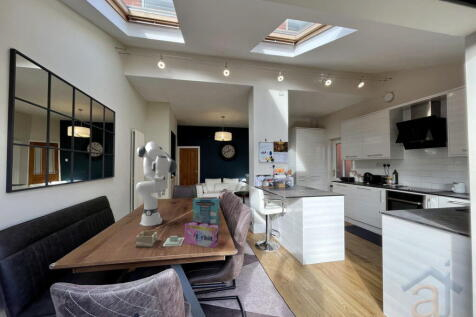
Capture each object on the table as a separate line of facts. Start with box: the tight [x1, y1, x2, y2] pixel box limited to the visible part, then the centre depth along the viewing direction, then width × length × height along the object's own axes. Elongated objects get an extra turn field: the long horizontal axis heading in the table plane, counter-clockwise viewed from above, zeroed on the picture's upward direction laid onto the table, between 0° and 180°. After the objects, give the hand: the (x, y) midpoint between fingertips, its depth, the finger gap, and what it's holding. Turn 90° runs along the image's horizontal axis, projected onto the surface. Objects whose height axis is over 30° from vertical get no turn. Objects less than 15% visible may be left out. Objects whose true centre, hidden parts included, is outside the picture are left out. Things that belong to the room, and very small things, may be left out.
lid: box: [164, 235, 183, 245], centre depth 136 cm, size 10×9×4 cm
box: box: [135, 229, 159, 248], centre depth 134 cm, size 12×10×7 cm
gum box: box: [184, 220, 220, 249], centre depth 134 cm, size 24×8×14 cm, turn 71°
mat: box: [162, 236, 185, 247], centre depth 136 cm, size 14×12×1 cm
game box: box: [192, 197, 220, 234], centre depth 157 cm, size 20×6×27 cm, turn 84°
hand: (161, 196), depth 142 cm, fingers open, 8 cm apart
